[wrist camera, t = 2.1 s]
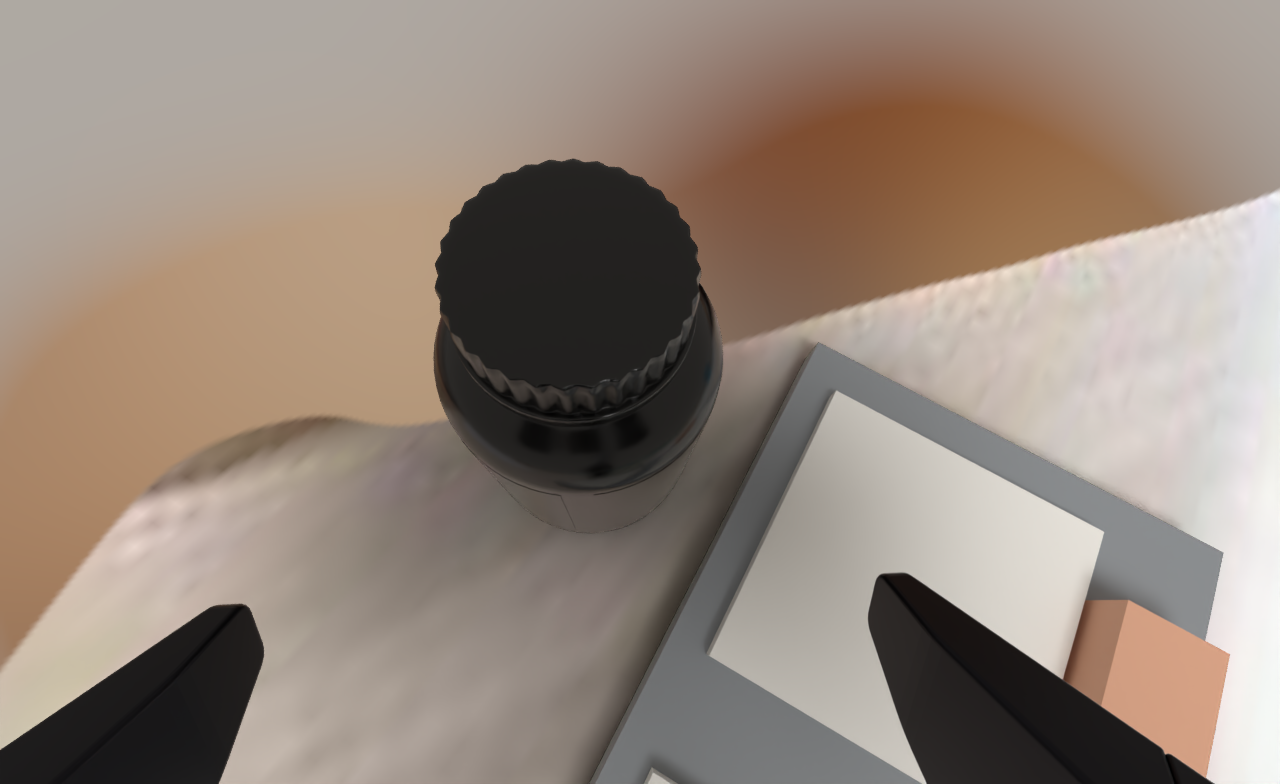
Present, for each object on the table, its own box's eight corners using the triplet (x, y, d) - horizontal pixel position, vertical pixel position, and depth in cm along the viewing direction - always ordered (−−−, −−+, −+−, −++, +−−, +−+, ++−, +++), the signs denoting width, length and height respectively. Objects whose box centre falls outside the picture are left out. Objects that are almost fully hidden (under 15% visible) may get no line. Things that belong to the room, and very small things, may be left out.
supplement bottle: (624, 323, 24) (642, 64, 12) (720, 473, 22) (844, 330, 11) (461, 407, 22) (313, 200, 11) (551, 575, 20) (485, 534, 9)
